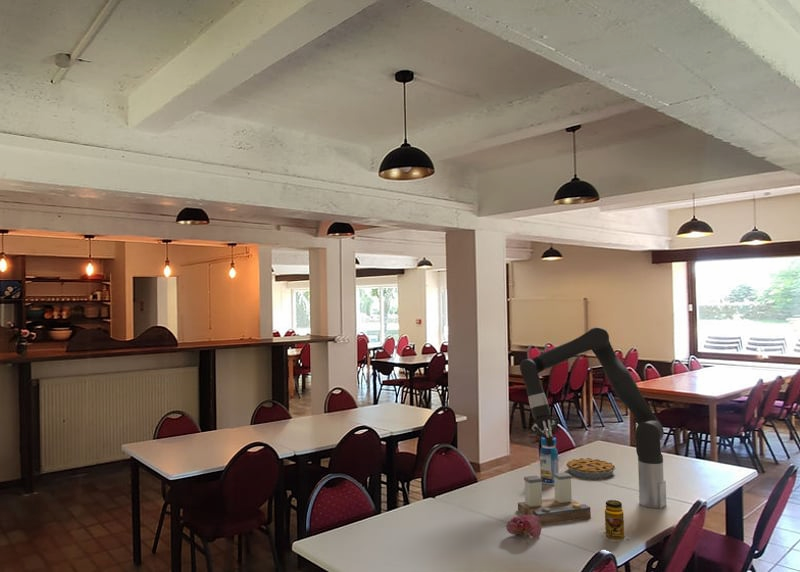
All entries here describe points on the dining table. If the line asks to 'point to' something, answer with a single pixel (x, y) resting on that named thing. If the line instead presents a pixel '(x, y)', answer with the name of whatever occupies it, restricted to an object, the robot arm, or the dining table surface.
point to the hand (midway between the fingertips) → (550, 446)
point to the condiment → (614, 521)
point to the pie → (590, 468)
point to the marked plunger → (563, 487)
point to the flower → (525, 526)
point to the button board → (556, 511)
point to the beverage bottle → (548, 462)
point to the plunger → (533, 491)
